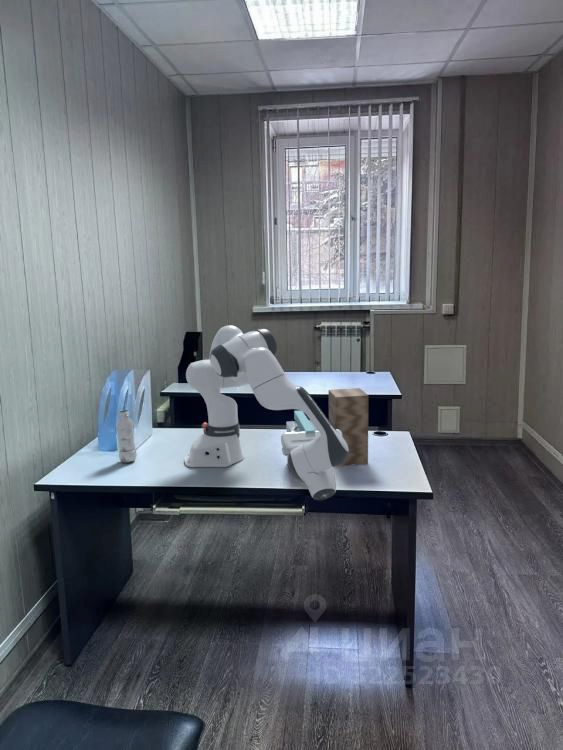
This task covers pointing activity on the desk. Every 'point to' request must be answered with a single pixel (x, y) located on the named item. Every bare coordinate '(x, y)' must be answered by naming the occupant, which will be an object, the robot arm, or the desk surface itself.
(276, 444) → the desk surface
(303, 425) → the teal bar
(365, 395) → the walnut pedestal
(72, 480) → the desk surface
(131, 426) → the plastic bottle
